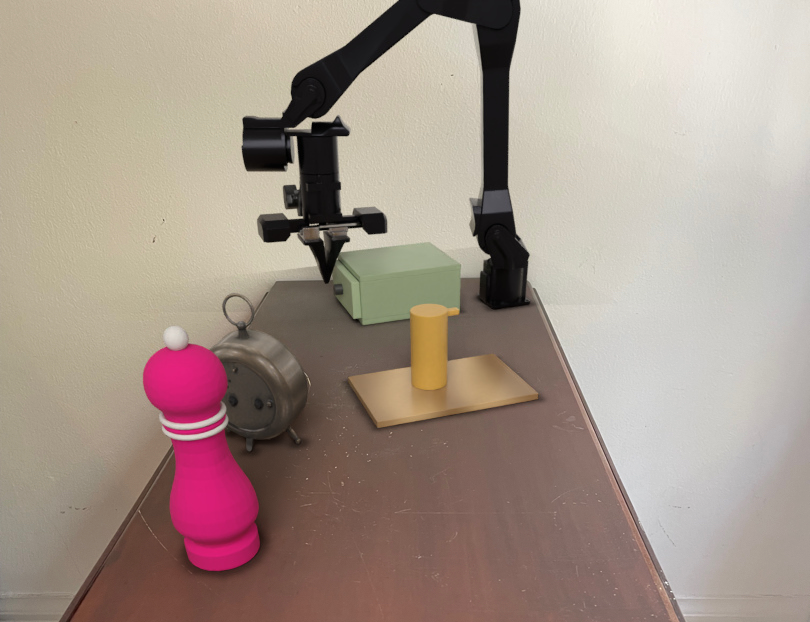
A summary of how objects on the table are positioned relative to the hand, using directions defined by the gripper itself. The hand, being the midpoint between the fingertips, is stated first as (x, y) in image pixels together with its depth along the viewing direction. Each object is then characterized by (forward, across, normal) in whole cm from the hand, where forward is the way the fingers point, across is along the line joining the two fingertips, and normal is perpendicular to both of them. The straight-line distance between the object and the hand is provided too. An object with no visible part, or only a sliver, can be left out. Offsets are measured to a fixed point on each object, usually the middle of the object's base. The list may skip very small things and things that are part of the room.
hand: (326, 283), depth 109 cm
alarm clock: (+4, +17, +40) cm, 44 cm away
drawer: (+2, -8, +3) cm, 9 cm away
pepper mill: (+4, +23, +58) cm, 63 cm away
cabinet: (+3, -11, +4) cm, 12 cm away
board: (+3, -6, +36) cm, 36 cm away
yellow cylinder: (+3, -5, +34) cm, 35 cm away
